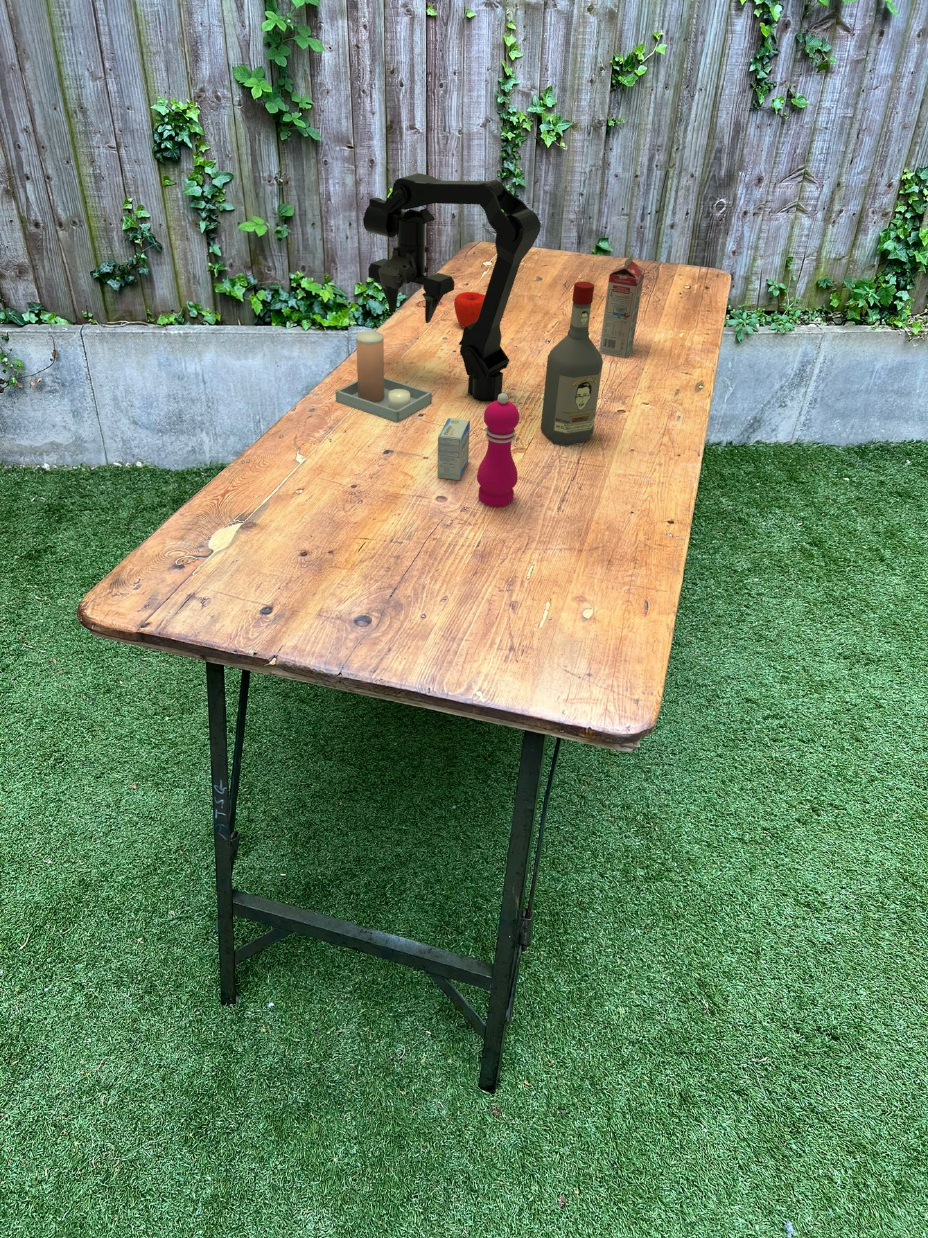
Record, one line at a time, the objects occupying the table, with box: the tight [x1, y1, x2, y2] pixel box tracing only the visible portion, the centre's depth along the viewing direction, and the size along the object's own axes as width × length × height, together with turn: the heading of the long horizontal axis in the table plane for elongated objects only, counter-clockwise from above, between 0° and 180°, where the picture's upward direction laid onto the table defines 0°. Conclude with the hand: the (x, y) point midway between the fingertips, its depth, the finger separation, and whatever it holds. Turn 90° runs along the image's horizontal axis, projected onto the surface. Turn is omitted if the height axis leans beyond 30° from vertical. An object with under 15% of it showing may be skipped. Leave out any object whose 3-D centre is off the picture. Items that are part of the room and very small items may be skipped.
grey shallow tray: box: [335, 376, 433, 424], centre depth 191 cm, size 16×12×3 cm
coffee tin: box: [355, 330, 385, 403], centre depth 189 cm, size 6×6×13 cm
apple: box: [453, 291, 485, 329], centre depth 228 cm, size 9×9×8 cm
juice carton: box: [598, 253, 645, 359], centre depth 215 cm, size 7×7×22 cm
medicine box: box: [436, 417, 471, 481], centre depth 169 cm, size 8×4×9 cm, turn 168°
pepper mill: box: [476, 392, 520, 508], centre depth 158 cm, size 7×7×20 cm
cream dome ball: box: [389, 389, 410, 410], centre depth 189 cm, size 4×4×3 cm
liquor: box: [540, 281, 604, 447], centre depth 176 cm, size 9×9×30 cm
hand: (410, 317), depth 197 cm, fingers open, 9 cm apart
